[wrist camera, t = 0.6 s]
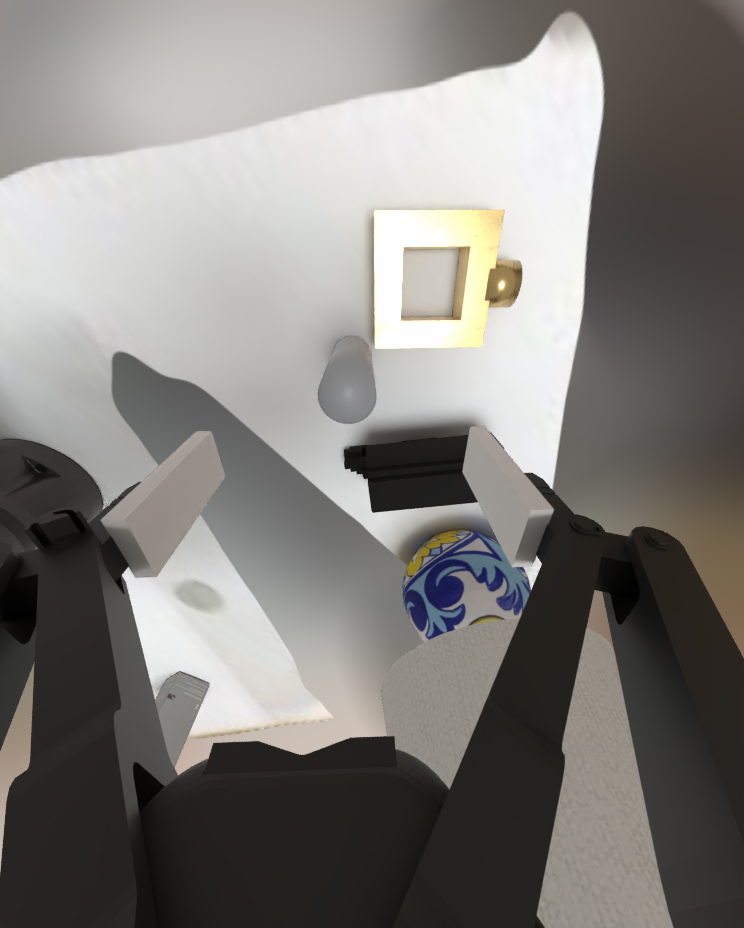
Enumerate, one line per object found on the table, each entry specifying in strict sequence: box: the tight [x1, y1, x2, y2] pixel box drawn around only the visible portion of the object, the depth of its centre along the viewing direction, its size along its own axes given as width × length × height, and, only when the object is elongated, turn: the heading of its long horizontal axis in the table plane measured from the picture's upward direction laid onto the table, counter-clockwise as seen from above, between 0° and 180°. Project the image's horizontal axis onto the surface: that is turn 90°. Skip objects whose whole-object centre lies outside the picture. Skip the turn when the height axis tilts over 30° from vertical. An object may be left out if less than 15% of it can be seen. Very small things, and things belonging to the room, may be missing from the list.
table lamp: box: [381, 530, 673, 928], centre depth 36 cm, size 27×27×40 cm
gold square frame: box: [373, 210, 522, 348], centre depth 30 cm, size 14×11×4 cm
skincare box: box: [155, 672, 209, 768], centre depth 65 cm, size 8×7×16 cm
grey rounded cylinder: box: [318, 336, 376, 424], centre depth 29 cm, size 4×4×14 cm
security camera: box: [344, 433, 504, 513], centre depth 37 cm, size 7×18×10 cm, turn 96°
